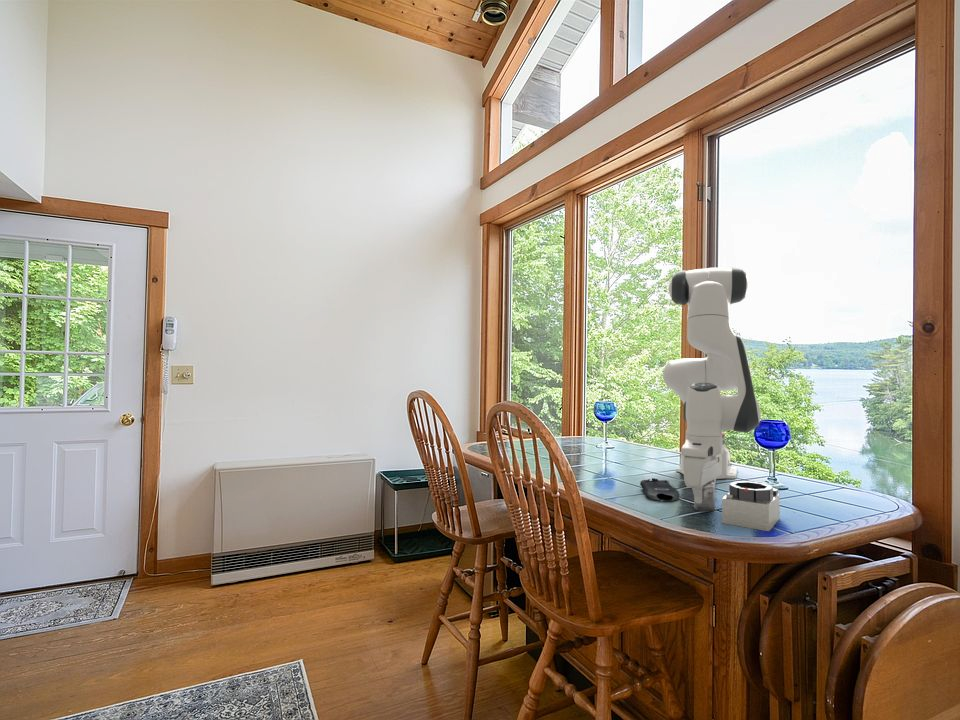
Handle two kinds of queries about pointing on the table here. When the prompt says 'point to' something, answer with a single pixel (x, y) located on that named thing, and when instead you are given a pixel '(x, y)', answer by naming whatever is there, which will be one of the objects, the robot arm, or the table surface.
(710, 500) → the lens
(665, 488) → the electronic device
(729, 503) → the camera body
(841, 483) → the table surface
